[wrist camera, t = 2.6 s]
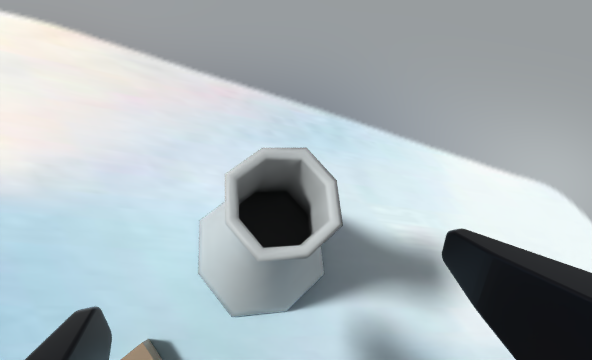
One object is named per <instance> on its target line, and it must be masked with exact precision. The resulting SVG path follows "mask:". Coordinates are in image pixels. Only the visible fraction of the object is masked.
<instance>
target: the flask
mask: <svg viewBox="0 0 592 360" xmlns="http://www.w3.org/2000/svg"><path fill="white" fill-rule="evenodd" d="M342 226H343V223H342V216H341V209H340V201H339V194H338V187H337V180H336V179H335V178H334V177H333V176H332V175H331V174H330V173H329V172H328V171H327V169H326V168H325V167H324V166H323V165H322V164H321V163H320V162H319V161H318V160H317V159H316V157H315V156H314V155H313V154H312V153H311V152H310V151H309V150H308V149H307V148H261V149H260V150H258V151H257V152H256V153H254V154H253V155H251V156H250V157H248V158H247V159H246V160H244V161H243V162H241V163H240V164H238V165H237V166H236V167H234V168H233V169H231V170H230V171H229V172H227V173H226V174H225V202H224V203H222V204H221V205H219V206H218V207H217V208H215V209H214V210H213V211H211V212H210V213H209V214H207V215H206V216H205V217H203V218H202V219H201V220H199V257H198V274H199V275H200V277H201V278H202V279H203V280H204V282H205V283H206V284H207V286H208V287H209V288H210V290H211V291H212V292H213V293H214V295H215V296H216V297H217V299H218V300H219V301H220V303H221V304H222V305H223V306H224V308H225V309H226V310H227V312H228V313H229V314H230V315H231V317H237V316H246V315H256V314H265V313H274V312H284V311H287V310H288V309H289V308H290V307H291V306H292V305H293V304H294V303H295V302H296V301H297V300H298V299H299V298H300V297H301V296H302V295H303V294H304V293H305V292H306V291H307V290H308V289H310V288H311V287H312V286H313V285H314V284H315V283H316V282H317V281H318V280H319V279H320V278H321V277H322V276H323V275H324V269H323V260H322V251H321V245H322V244H323V243H324V242H326V241H327V240H328V239H329V238H330V237H331V236H332V235H333V234H334V233H335V232H336V231H337V230H338V229H339V228H341V227H342Z"/></svg>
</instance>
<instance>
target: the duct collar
mask: <svg viewBox="0 0 592 360" xmlns="http://www.w3.org/2000/svg"><path fill="white" fill-rule="evenodd" d="M121 360H162V358H161V357H160V355H159V354H158V352H157V351H156V349H155V348H154V346H153V345H152V343H151V342H150V340H149V339H148V340H146V341H144V342H142V343H141V344H140V345H138V346H137V347H136V348H135V349H133V350H132V351H131V352H130V353H128V354H127V355H126V356H125V357H123V358H122V359H121Z"/></svg>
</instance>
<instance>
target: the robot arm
mask: <svg viewBox="0 0 592 360" xmlns="http://www.w3.org/2000/svg"><path fill="white" fill-rule="evenodd" d="M442 258H443V261H444V263H445V264H446V266H447V267H448V269H449V270H450V272H451V273H452V275H453V276H454V278H455V279H456V281H457V282H458V284H459V285H460V287H461V288H462V290H463V291H464V293H465V294H466V296H467V297H468V299H469V300H470V302H471V303H472V304H473V306H474V307H475V309H476V310H477V311H478V313H479V314H480V315H481V317H482V318H483V319H484V320H485V322H486V323H487V324H488V325H489V327H490V328H491V329H492V330H493V332H494V333H495V334H496V335H497V337H498V338H499V339H500V340H501V342H502V343H503V344H504V345H505V347H506V348H507V349H508V350H509V352H510V353H511V354H512V355H513V357H514V358H515V359H516V360H592V273H590V272H587V271H585V270H582V269H579V268H576V267H573V266H570V265H567V264H564V263H561V262H558V261H556V260H553V259H550V258H547V257H544V256H541V255H538V254H535V253H532V252H530V251H527V250H524V249H521V248H518V247H515V246H512V245H509V244H506V243H503V242H501V241H498V240H495V239H492V238H489V237H486V236H483V235H480V234H477V233H474V232H472V231H469V230H466V229H456V230H451V231H449V232H448V233H447V235H446V238H445V242H444V246H443V250H442ZM111 342H112V334H111V330H110V328H109V326H108V323H107V321H106V319H105V317H104V315H103V312H102V310H101V309H100V308H99V307H90V308H86V309H81V310H78V311H76V312H74V313H73V314H72V315H71V316H70V317H69V318H68V319H67V320H66V321H65V322H64V323H63V324H62V325H60V326H59V327H58V328H57V329H56V330H55V331H54V332H53V333H52V334H51V335H50V336H49V337H48V338H47V339H46V340H45V341H44V342H43V343H42V344H41V345H40V346H39V347H38V348H36V349H35V350H34V351H33V352H32V353H31V354H30V355H29V356H28V357H27V358H26V359H25V360H109V356H110V349H111Z"/></svg>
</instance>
